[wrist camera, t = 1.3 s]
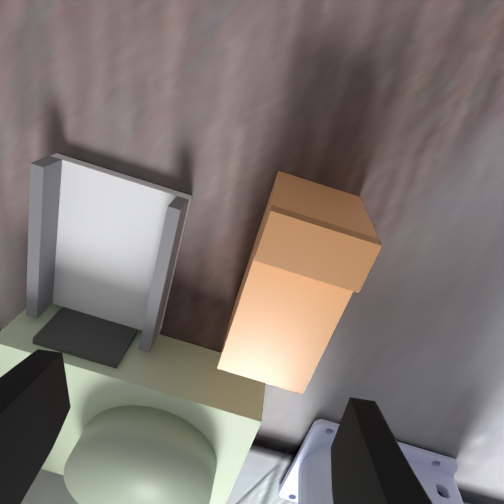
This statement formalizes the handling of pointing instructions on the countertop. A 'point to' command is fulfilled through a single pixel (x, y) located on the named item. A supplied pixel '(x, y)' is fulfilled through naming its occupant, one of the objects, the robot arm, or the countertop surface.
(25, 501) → the coffee cup
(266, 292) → the orange stepped block
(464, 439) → the countertop surface
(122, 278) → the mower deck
